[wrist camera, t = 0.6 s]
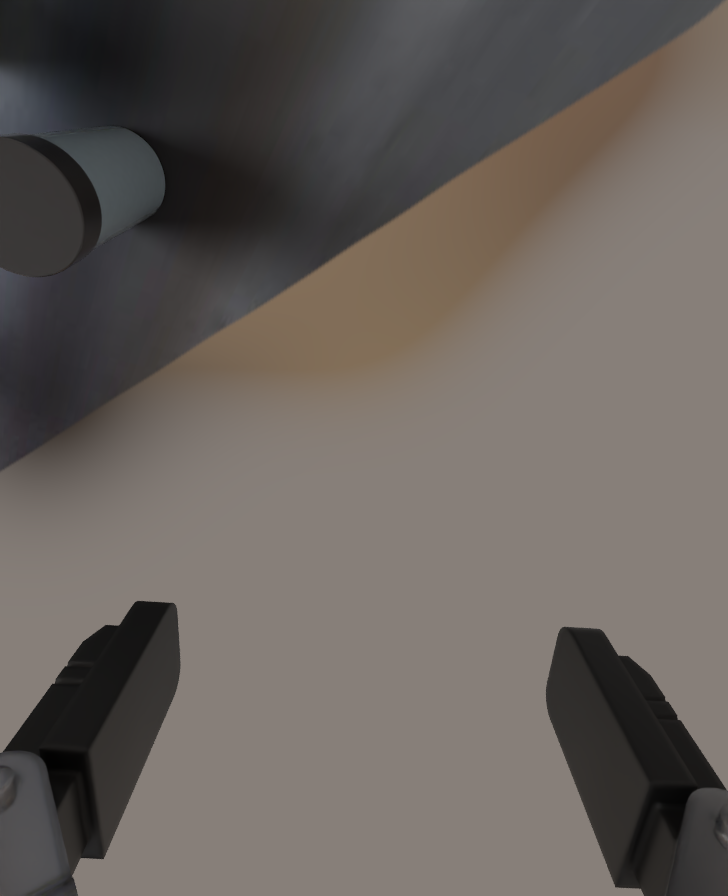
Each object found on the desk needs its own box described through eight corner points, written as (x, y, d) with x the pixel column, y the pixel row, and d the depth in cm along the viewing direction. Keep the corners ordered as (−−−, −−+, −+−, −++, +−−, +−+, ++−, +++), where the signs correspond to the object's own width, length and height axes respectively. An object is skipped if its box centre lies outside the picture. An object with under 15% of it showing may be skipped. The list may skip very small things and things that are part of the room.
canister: (61, 189, 33) (-69, 229, 23) (91, 101, 31) (-38, 103, 20) (146, 241, 35) (60, 301, 25) (182, 162, 32) (103, 192, 22)
